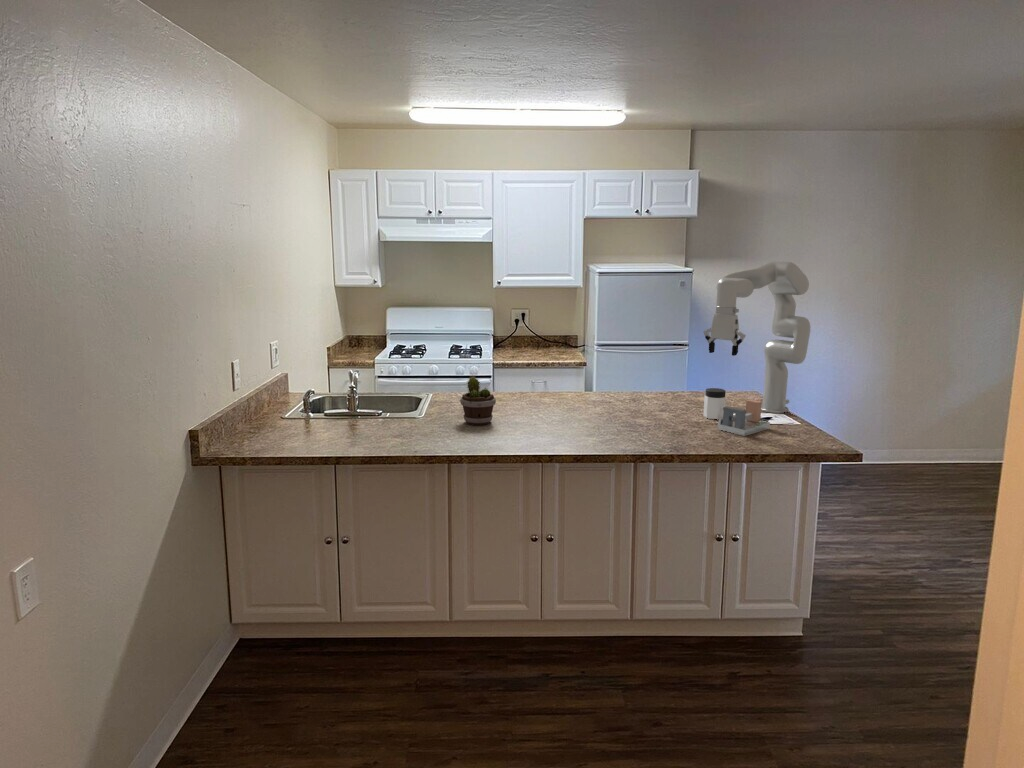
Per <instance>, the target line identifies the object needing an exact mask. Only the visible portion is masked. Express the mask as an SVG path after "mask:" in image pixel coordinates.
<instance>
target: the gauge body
mask: <svg viewBox="0 0 1024 768" xmlns="http://www.w3.org/2000/svg"><path fill="white" fill-rule="evenodd" d="M723 410H724V411H723V418H721V419H719V420H717V421H718V423H717V430H718V429H719V430H718V431H721V430H723V431H722V432H725V431H727V432H726V433H729V432H731V433H730V434H733V433H734V434H733V435H739V436H742V437H747V436H748V435H752V434H757V433H759V432H762V431H765V430H769V429H770V425H771V422H765V421H761V420H760V421H758V422H753V421H749V420H745V415H746V409H742V408H738V407H733V406H729V405H727V406H726V405H725V407H723ZM734 417H735V421H734Z"/></svg>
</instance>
